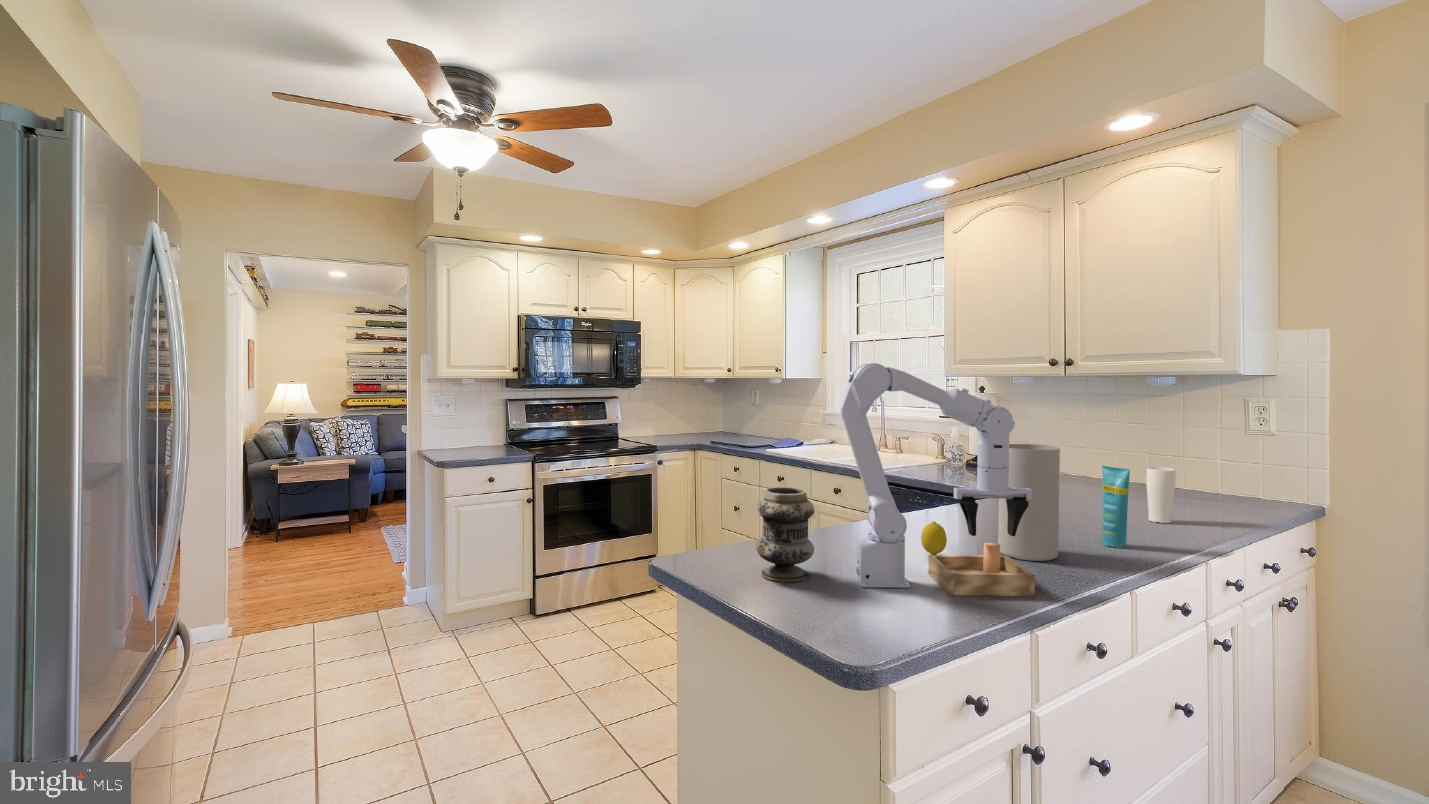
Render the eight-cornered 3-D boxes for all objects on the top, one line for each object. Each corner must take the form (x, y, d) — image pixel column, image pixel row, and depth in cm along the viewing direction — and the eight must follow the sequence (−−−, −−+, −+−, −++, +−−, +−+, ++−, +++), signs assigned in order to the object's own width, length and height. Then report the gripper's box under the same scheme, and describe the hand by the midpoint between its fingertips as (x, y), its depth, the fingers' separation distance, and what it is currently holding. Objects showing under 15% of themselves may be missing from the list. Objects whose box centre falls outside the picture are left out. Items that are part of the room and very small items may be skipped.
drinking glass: (1173, 520, 182) (1174, 468, 182) (1175, 525, 176) (1176, 471, 176) (1144, 518, 186) (1146, 466, 185) (1145, 522, 180) (1146, 469, 179)
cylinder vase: (1017, 544, 158) (1018, 442, 157) (1068, 556, 148) (1070, 447, 147) (986, 552, 151) (988, 446, 150) (1039, 565, 141) (1040, 451, 140)
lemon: (948, 560, 145) (948, 524, 145) (922, 558, 146) (922, 523, 146) (944, 553, 151) (944, 519, 150) (919, 552, 152) (920, 518, 151)
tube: (1093, 543, 159) (1094, 465, 158) (1106, 541, 161) (1108, 464, 160) (1122, 550, 152) (1124, 469, 151) (1136, 548, 154) (1138, 468, 153)
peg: (986, 586, 127) (986, 546, 127) (981, 581, 130) (981, 542, 130) (1001, 587, 127) (1002, 546, 126) (996, 582, 130) (997, 542, 129)
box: (948, 595, 122) (948, 574, 122) (928, 573, 135) (928, 555, 135) (1034, 595, 121) (1034, 574, 121) (1006, 574, 134) (1006, 555, 134)
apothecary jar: (809, 586, 127) (809, 496, 127) (750, 581, 131) (749, 493, 130) (818, 569, 139) (818, 486, 138) (763, 564, 143) (763, 483, 142)
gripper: (1021, 463, 131) (1020, 530, 131) (949, 463, 132) (948, 529, 132) (1037, 468, 124) (1036, 539, 124) (960, 468, 124) (959, 538, 125)
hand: (991, 534), depth 128 cm, fingers open, 7 cm apart
